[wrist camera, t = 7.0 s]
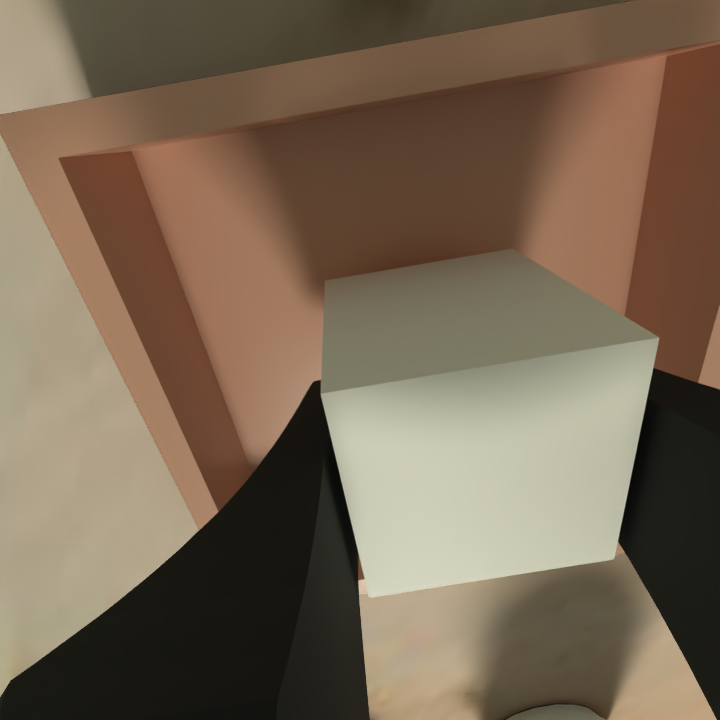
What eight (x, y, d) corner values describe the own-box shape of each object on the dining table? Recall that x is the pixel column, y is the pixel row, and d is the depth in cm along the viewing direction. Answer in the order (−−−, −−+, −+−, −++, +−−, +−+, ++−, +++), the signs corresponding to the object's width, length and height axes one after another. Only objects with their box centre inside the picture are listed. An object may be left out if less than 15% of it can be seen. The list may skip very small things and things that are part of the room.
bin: (685, 16, 9) (859, -41, 6) (607, 464, 16) (675, 545, 13) (99, 121, 10) (-9, 115, 7) (257, 521, 16) (240, 613, 13)
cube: (512, 248, 10) (659, 337, 5) (510, 404, 12) (614, 559, 8) (325, 280, 10) (320, 393, 6) (355, 430, 12) (369, 597, 8)
